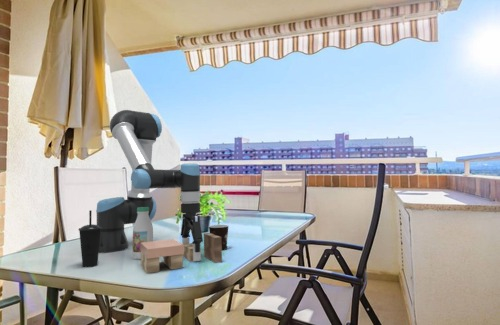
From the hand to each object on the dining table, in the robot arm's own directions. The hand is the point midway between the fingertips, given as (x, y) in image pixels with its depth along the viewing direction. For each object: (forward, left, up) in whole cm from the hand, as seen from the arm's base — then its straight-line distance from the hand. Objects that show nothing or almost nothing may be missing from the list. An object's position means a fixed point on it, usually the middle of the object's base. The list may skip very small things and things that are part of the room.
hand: (191, 257), depth 122 cm
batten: (0, 0, 0) cm, 0 cm away
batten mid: (+7, -9, 0) cm, 11 cm away
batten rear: (+7, -17, 0) cm, 18 cm away
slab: (+7, -13, +5) cm, 16 cm away
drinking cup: (-10, -35, 0) cm, 36 cm away
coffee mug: (-8, +14, 0) cm, 16 cm away
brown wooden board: (+7, +6, 0) cm, 9 cm away
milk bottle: (-12, -16, 0) cm, 20 cm away
